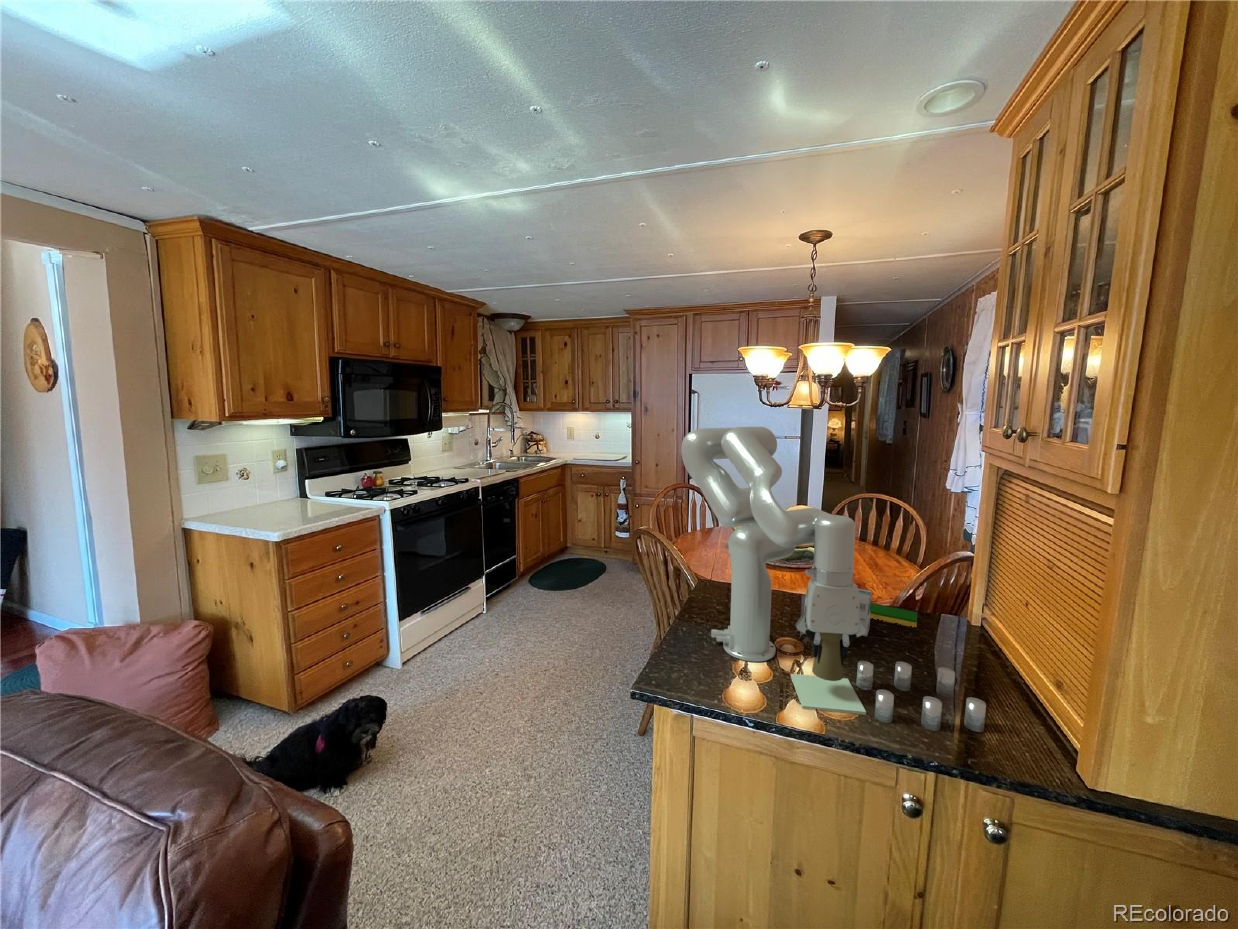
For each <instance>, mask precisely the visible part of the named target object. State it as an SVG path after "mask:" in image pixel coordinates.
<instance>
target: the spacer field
mask: <svg viewBox="0 0 1238 929" xmlns="http://www.w3.org/2000/svg"><path fill="white" fill-rule="evenodd" d="M894 668H895V669H894V679H893V680H894V683H893V686H894V687H895V689H897V690H899V691H902V692H907V691H910V690H911V682H912V681H911V680H912V668H913V666H912V665H911V664H909V663H908V662H905V661H896V662H895V666H894ZM873 677H874V663H871V662H869V661H866V660H859V661H858V662H857V672H856V683H855V685H856V686H857V688H859V689H861V690H864V691H870V690H872V689H873V679H874V678H873ZM955 678H956V672H955V671H954V670H953V669H952V668H948V667H944V666H941V667H938V668H937V675H936V679H937V680H936V689H935V692H936V693H937V694H938V695H940V696H942V697H944V698H953V697H954V692H955V691H954V689H955V681H956V680H955ZM875 692H876V693H875V705H874V706H875V707H874V718H875V719H876V720H878V721H879V722H882V723H884V724H890V723H892V722H893V714H894V703H895V702H894V701H895V700H894V699H895V695H894V694H893V693H892V692H891V691H890V690H887V689H877V690H876V691H875ZM942 710H943V703H942V701H941V700H940V699H938V698H936V697H933V696H928V695H927V696H926V695H925V696H923V698H922V708H921V722H920V723H921V725H922V727H923V728H924V729H927V730H929V731H933V732H937V731H940V730H941V723H942V722H941V720H942V718H941V717H942ZM964 711H965V712H964V721H963V722H964V723H963V724H964V726H965V728H967V729H969V730H970V731H972V732H976V733H977V732H978V733H982V732H984V731H985V730H984V729H985V720H986V713H987V712H986V711H987V704H986V702H985V701H984V700H982V699H979V698H978V697H971V696H970V697H969V696H968V697H967V698H966V700H965V709H964Z"/></svg>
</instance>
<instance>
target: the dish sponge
mask: <svg viewBox="0 0 1238 929" xmlns="http://www.w3.org/2000/svg"><path fill="white" fill-rule="evenodd" d="M872 618H873V619H872ZM870 619H872V620H877V619H879V620H878V621H881V620H883V621H882V622H886V621H887V623H892V624H895V623H898V624H897V625H900V624H901V626H905V627H910V626H912V627H911V628H914V627H916V628H917V622H918V612H917V611H913V610H912V611H911V610H907V609H901V608H898V607H891V606H887V605H883V604H882V605H881V604H877V603H872V602H871V609H870Z"/></svg>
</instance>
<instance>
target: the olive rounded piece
mask: <svg viewBox="0 0 1238 929" xmlns="http://www.w3.org/2000/svg"><path fill="white" fill-rule="evenodd" d="M842 636H843V634H834V633H820V637H821V640H820V645H821V646H822V650H821V658H820V662H819V663H818V655H817V657H813V663H812V669H811V670H812V674H813V675H814V676H817V677H819V678H821V679H824V680H829V681H838V680H841V679H843V678H844V669H843V668H844V667H843V665H841V656H840V640H841V639H842Z"/></svg>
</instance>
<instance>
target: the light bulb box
mask: <svg viewBox="0 0 1238 929" xmlns="http://www.w3.org/2000/svg"><path fill="white" fill-rule="evenodd" d="M858 594H859V604H860V621H861V623H862V625H863V626H864V628H865V630H866V633H865V634H863V635H861V636H863V637H867V636H868V634H869V631H870V626H871V624H870V623H871V618H870V609H871V603H872V590H868V589H862V588H858Z"/></svg>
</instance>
